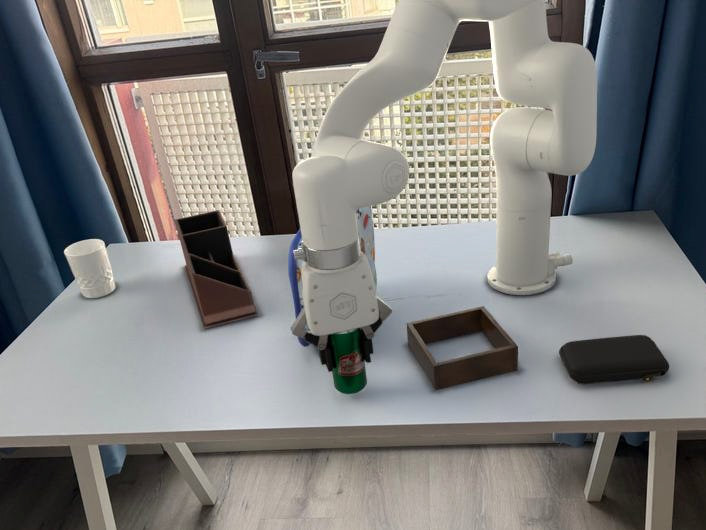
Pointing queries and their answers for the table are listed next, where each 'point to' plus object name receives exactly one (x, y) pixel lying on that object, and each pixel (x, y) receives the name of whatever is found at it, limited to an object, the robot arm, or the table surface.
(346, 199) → the robot arm
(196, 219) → the desk organizer
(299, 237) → the lunch box
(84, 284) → the white cup
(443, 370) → the crate
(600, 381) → the carrying case
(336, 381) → the soda can
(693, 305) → the table surface
